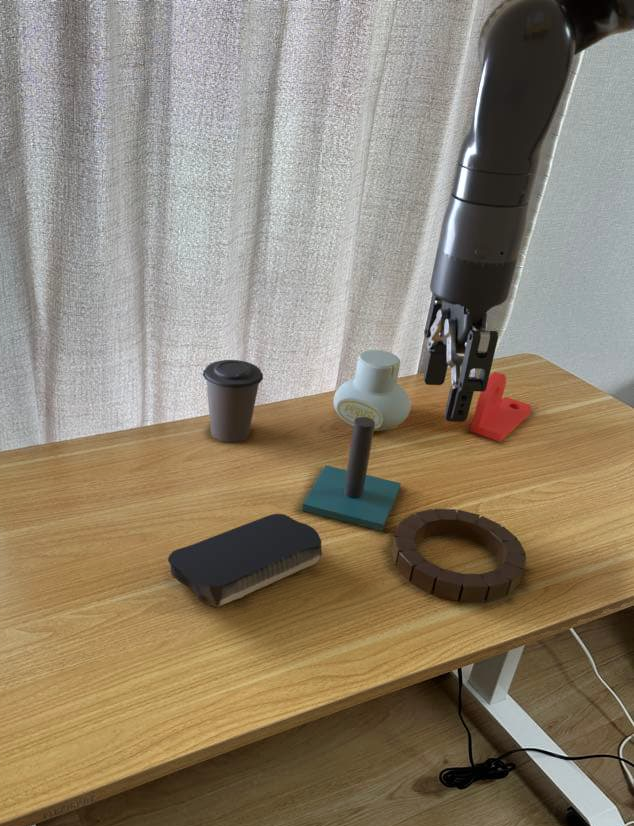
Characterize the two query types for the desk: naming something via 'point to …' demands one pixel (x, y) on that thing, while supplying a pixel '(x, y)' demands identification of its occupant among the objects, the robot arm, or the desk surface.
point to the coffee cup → (231, 398)
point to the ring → (450, 581)
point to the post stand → (354, 486)
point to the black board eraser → (246, 558)
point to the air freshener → (374, 392)
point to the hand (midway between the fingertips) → (443, 401)
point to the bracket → (497, 410)
